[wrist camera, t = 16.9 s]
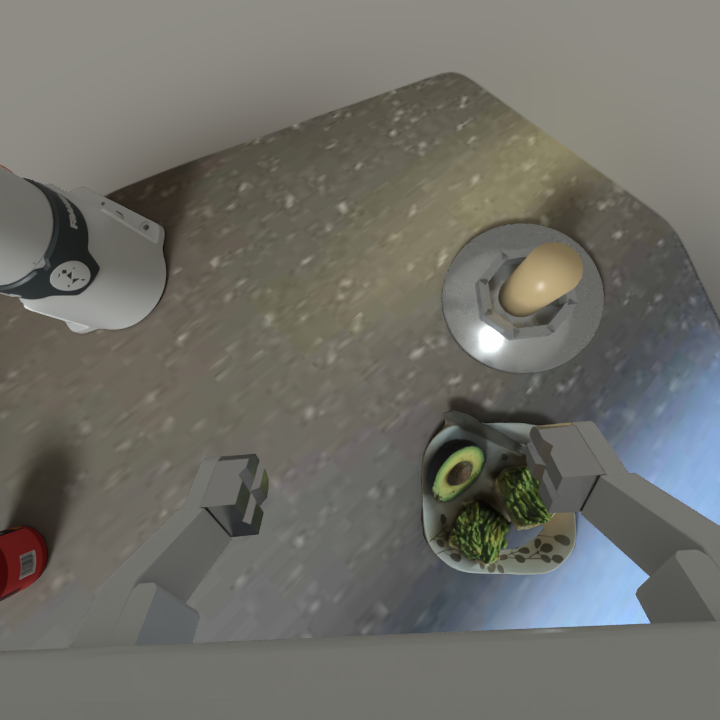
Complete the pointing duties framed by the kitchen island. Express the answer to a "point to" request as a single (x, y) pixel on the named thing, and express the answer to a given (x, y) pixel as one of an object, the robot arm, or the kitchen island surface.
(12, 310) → the kitchen island surface
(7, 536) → the canned food
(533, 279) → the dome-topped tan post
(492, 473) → the salad plate
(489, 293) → the collar
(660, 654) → the robot arm
